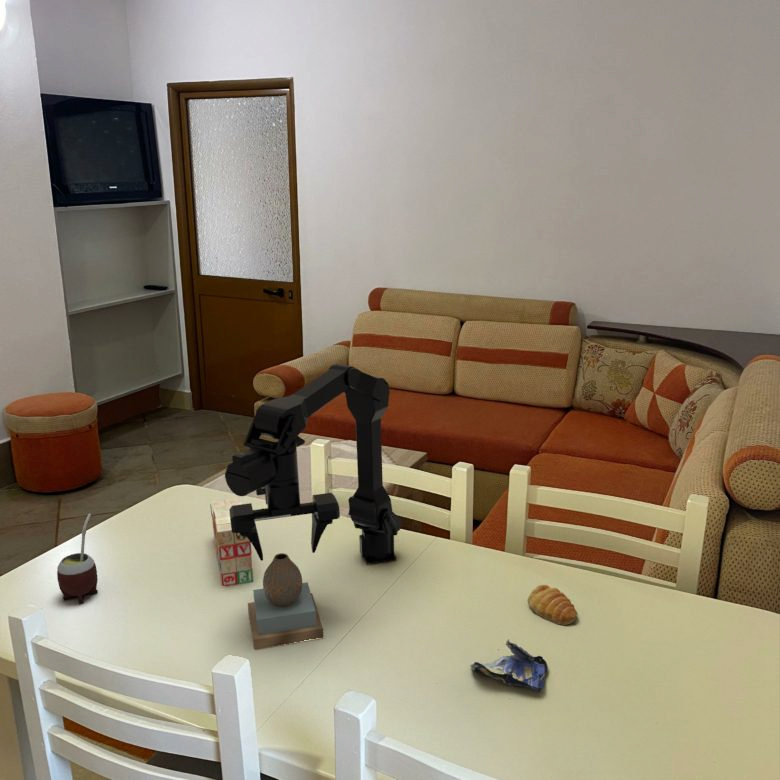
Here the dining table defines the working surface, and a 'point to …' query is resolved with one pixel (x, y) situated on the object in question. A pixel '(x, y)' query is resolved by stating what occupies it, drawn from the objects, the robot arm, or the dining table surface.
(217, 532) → the stack of blocks
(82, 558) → the mate gourd
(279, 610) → the tower top
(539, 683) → the snack package
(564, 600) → the pastry
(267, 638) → the tower base
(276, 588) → the vase
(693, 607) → the dining table surface
